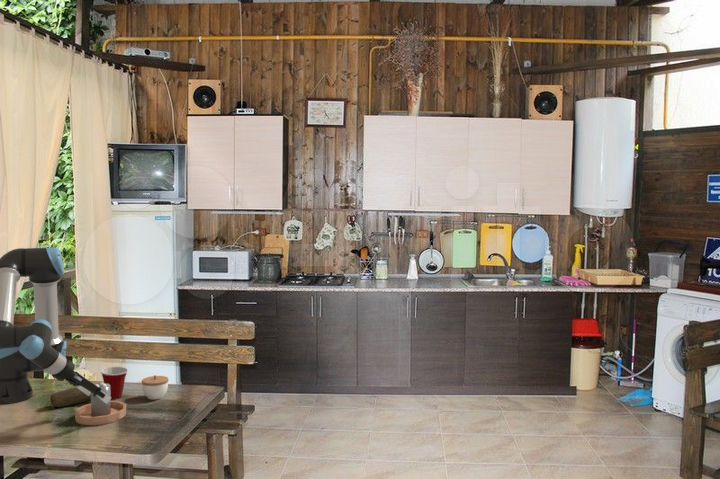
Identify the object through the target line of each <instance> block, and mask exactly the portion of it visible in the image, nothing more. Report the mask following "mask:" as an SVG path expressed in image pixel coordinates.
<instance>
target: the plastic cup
mask: <svg viewBox="0 0 720 479" xmlns="http://www.w3.org/2000/svg"><path fill="white" fill-rule="evenodd" d="M128 372H129V369H128V368H126V367H125V366H124V367H123V366H109V367H105V368H102V369H100V374H101V375H102V380H103V383H107V384H110V395H111V400H118V399H121V398H122V397H123V390H124V387H125V382H126V381H125V380H126V376H127V373H128Z"/></svg>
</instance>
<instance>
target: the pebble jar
mask: <svg viewBox="0 0 720 479" xmlns="http://www.w3.org/2000/svg"><path fill="white" fill-rule="evenodd" d="M94 385H96V386H98V387H99V388H101V389H102V391H103V392H105V393H106V394H107V395H109V396H110V397H111V395H110V384H107V383H104V381H101V382H99V383H96V384H94ZM93 395H94V394H93V393H92V392H91V399H90V404H91V416H92V417H97V416H105V415H109V414H111V401H112V399H110V401H109V402H108V403H107V404H106V403H104V402H103V401H102V400H100V399H99V398H98V397H96V396H95V397H94V396H93Z"/></svg>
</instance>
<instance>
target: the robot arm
mask: <svg viewBox="0 0 720 479" xmlns="http://www.w3.org/2000/svg"><path fill="white" fill-rule="evenodd" d="M64 275H65V267H64V260H63V255H62V252H61V250H60V248H57V247H48V246H47V247H28V248H24V247H19V248H14V249H11V250H9V251H7V252H6V253H4V254H3V255H2V256H1V257H0V405H1V404H4V405H5V403H6V404H14V402H15V403H20V402H23V401H26V400H28V399H31V398H32V397H33V396H34V389H33V387H32V385H31V382H30V380H29V376H28V373H31V372H41V371H42V372H43V373H44V374H47V373H48V374H49V375H51V376H52V377H53V378H54V379H56V380H57V381H58V382H62V381H66V382H68V384H69V385H73V387H75V388H78V389H79V390H81V391H82V392H83V393H85V394H86V395H87V396H89V395H90V394H91V392H92V393H93V394H94V395H93V396H94V397H95V396H96V397H98V398H99V399H100V400H102V401H103V402H104V403H106V404H107V403H108V402H109V401H110V399H111V397H110V396H109V395H107V394H106V393H105V392H103V391H102V389H101V388H99V387H98V386H96V385H95V384H94V383H93V382H91V381H90V380H89V379H87V378H85V376H83V375H81V374H80V373H79V372H78V371H75V370H74V369H75V368H76V366H75V363H73V362H72V360H69V359H68V358H67V357H66V352H67V344H68V343H67V341H66V340H64V339H63V338H64V337H63V336H62V335H60V331H59V310H58V309H59V307H58V283H59V282H60V281H61V279H62V278H61V277H62V276H64ZM22 277H23V278H27V277H28V281H29V282H30V283H31V284H32V285H33V301H34V302H33V303H34V320H33V321H31V323H30V324H29V325H20V326H18V325H17V326H14V320H15V307H16V295H17V284H18V283H19V281H20V279H21V278H22ZM111 400H112V399H111ZM19 401H20V402H19Z"/></svg>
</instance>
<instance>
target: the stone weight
mask: <svg viewBox="0 0 720 479" xmlns="http://www.w3.org/2000/svg"><path fill="white" fill-rule="evenodd" d="M49 398H50V399H49V400H50V404H51V406H52V407H53V408H60V407H61V408H62V407H68V406H73V405H76V404H77V405H78V404H81V403H84V402H87V401H91V394H90V395H89V396H87V395H86V394H85V393H83V392H82V391H81V390H79V389H78V388H76V387H72V388H68V389H64V390H60V391H58V392H55V393H53V394H52V393H51V395H50V397H49Z"/></svg>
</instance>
